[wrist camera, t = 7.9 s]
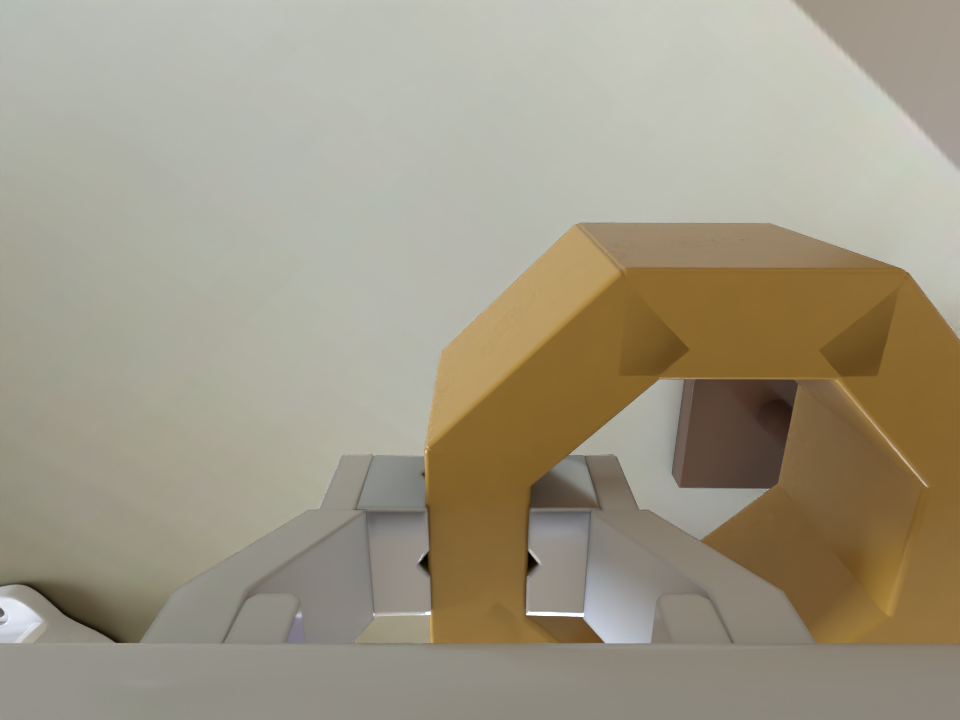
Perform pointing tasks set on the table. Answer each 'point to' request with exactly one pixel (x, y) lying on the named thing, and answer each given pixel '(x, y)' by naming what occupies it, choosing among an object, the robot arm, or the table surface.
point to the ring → (710, 355)
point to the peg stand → (732, 432)
